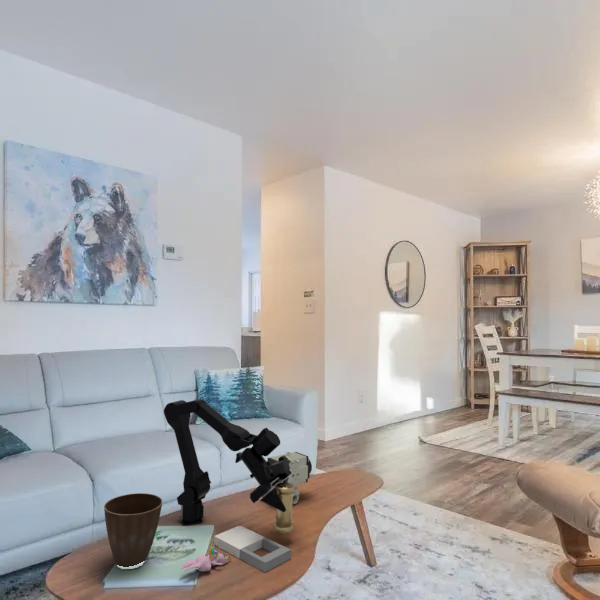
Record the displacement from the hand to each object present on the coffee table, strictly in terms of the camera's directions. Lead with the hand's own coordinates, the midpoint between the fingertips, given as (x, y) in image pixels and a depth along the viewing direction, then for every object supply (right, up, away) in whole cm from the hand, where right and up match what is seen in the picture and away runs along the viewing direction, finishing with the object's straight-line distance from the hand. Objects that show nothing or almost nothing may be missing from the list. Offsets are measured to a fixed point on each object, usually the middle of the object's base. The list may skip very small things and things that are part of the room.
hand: (288, 508), depth 142 cm
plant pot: (-42, -9, -14) cm, 45 cm away
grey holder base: (-11, -10, -6) cm, 16 cm away
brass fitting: (-2, -7, 0) cm, 7 cm away
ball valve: (-1, -12, +31) cm, 33 cm away
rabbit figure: (-22, -9, -16) cm, 29 cm away
